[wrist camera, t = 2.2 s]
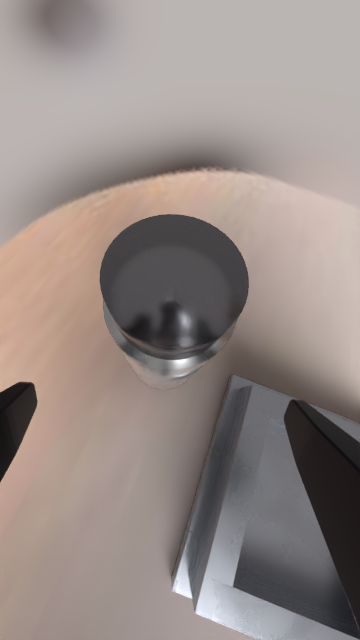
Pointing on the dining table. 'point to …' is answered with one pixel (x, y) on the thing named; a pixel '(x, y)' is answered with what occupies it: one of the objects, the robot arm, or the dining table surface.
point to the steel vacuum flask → (172, 295)
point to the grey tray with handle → (260, 530)
